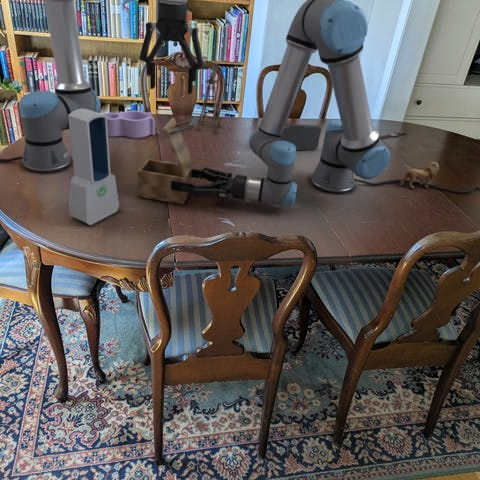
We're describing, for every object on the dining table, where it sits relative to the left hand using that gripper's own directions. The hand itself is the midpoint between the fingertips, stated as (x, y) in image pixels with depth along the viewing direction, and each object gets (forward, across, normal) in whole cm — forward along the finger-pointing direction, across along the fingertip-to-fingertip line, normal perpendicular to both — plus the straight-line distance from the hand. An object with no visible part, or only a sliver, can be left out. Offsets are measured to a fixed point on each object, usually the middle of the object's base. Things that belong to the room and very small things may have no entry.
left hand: (171, 90), depth 131 cm
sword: (+33, -80, -83) cm, 120 cm away
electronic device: (+33, +17, +18) cm, 42 cm away
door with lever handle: (+17, -2, 0) cm, 17 cm away
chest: (+33, +2, 0) cm, 33 cm away
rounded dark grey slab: (+33, -37, -53) cm, 73 cm away
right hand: (+27, -2, 0) cm, 27 cm away
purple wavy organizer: (+33, +30, -48) cm, 65 cm away
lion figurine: (+33, -84, -34) cm, 97 cm away
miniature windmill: (+33, 0, -65) cm, 73 cm away
